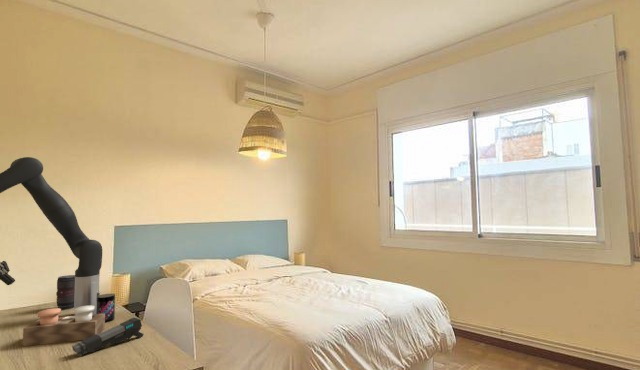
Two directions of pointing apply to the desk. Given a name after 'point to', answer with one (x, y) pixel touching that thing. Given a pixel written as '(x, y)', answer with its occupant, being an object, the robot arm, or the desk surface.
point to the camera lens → (65, 292)
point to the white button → (83, 313)
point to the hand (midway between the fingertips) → (12, 283)
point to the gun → (110, 337)
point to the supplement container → (106, 306)
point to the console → (63, 330)
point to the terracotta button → (49, 316)
